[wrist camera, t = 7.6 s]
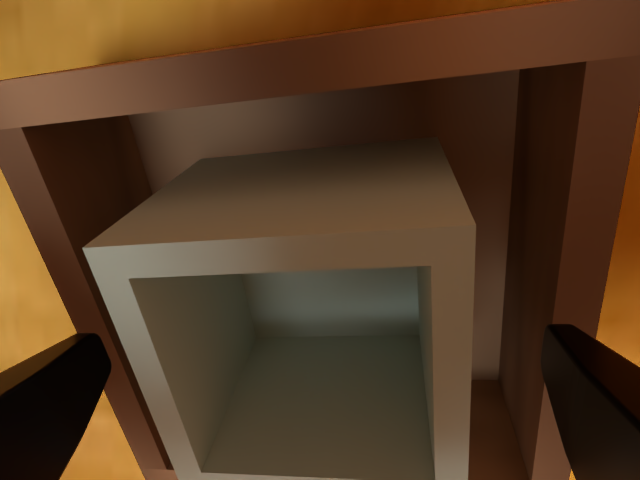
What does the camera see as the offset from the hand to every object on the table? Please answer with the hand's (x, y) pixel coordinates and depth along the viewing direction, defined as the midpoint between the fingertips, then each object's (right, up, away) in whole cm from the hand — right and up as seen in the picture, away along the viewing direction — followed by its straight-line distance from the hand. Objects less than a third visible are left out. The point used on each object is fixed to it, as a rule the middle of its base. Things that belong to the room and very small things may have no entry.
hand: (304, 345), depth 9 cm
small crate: (+1, +2, +3) cm, 4 cm away
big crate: (+1, +2, +4) cm, 4 cm away
